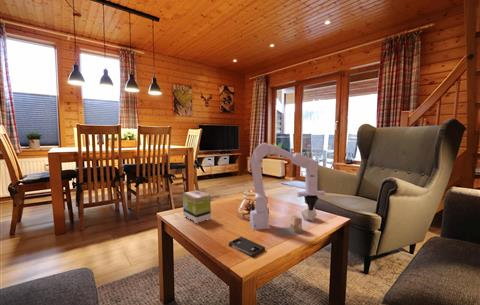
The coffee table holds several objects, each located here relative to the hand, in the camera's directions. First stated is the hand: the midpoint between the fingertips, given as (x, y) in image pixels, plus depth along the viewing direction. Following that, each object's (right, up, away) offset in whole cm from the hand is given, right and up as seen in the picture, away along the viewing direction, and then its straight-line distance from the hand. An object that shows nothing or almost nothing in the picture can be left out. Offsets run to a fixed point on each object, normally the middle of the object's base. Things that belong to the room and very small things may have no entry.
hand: (310, 209), depth 116 cm
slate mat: (-11, -11, -1) cm, 15 cm away
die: (+3, -9, +14) cm, 17 cm away
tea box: (-61, -10, +18) cm, 64 cm away
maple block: (-8, -10, -1) cm, 13 cm away
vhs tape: (-33, -13, -17) cm, 39 cm away
